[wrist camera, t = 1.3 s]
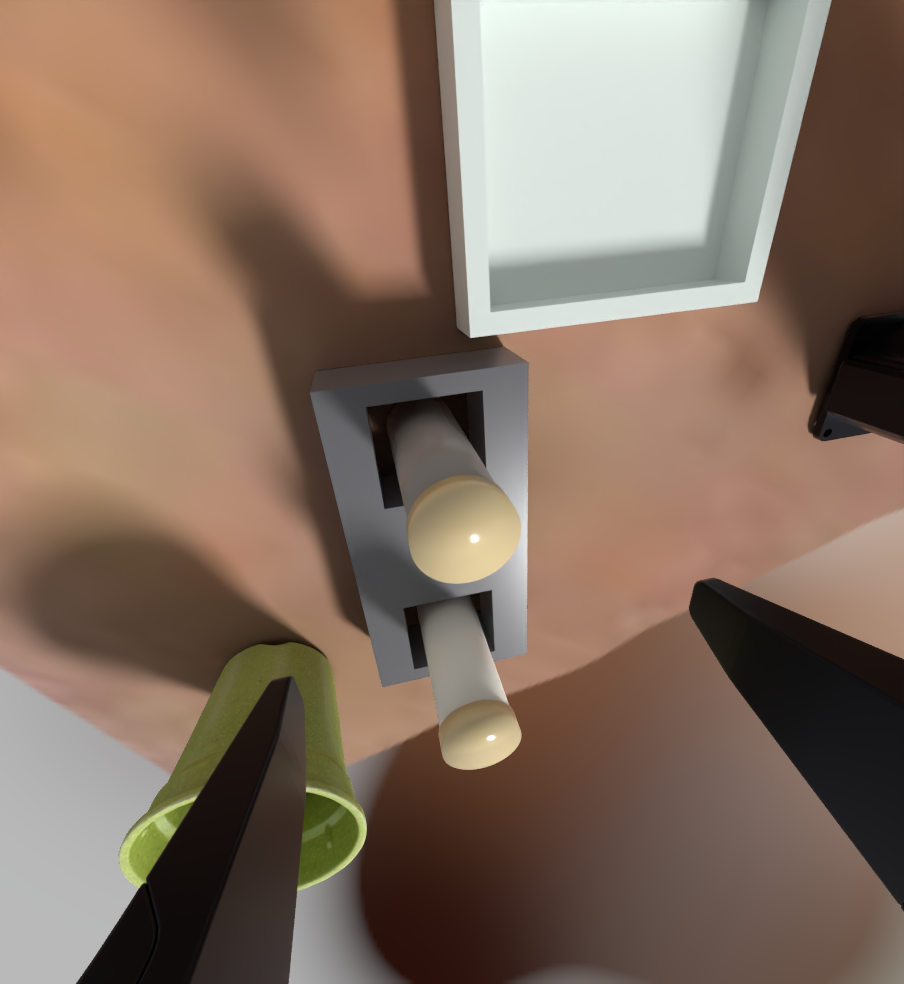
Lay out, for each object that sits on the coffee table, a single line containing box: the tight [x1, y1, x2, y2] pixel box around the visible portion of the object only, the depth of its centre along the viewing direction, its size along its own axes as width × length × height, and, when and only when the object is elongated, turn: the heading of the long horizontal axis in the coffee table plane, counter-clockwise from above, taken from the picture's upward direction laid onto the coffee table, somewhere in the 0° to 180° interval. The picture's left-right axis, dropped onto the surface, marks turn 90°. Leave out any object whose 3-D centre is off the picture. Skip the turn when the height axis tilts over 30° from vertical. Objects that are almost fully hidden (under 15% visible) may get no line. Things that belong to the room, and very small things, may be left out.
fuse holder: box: [310, 347, 528, 687], centre depth 21 cm, size 8×16×3 cm, turn 4°
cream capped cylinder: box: [387, 397, 521, 584], centre depth 16 cm, size 3×3×9 cm
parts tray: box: [434, 0, 832, 338], centre depth 16 cm, size 12×10×2 cm
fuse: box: [417, 595, 521, 770], centre depth 21 cm, size 3×3×9 cm
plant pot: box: [119, 642, 367, 891], centre depth 22 cm, size 9×9×9 cm
